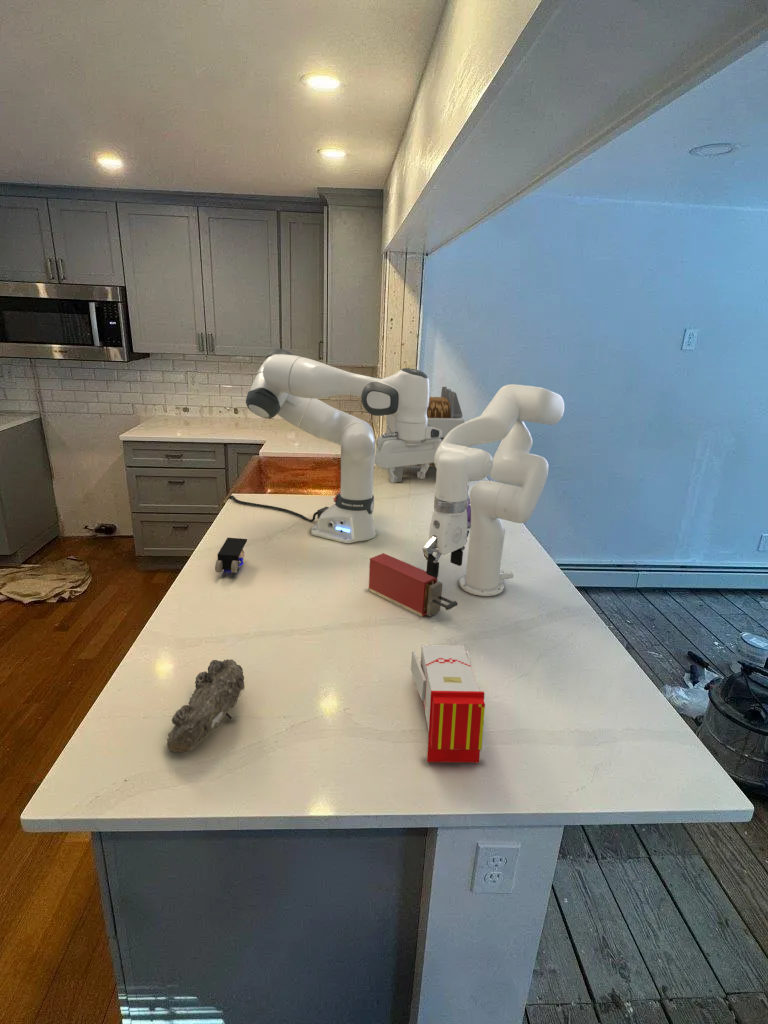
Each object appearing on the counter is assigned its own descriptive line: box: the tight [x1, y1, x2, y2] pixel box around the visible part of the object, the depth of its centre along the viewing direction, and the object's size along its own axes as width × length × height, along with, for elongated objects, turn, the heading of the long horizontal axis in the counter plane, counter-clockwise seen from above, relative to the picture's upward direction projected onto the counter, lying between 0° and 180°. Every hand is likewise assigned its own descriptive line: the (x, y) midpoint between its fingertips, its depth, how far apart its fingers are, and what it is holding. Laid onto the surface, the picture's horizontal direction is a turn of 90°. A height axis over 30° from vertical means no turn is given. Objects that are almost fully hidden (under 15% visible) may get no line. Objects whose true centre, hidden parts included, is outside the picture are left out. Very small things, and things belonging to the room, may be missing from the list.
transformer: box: [385, 386, 466, 483], centre depth 268 cm, size 34×33×41 cm
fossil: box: [166, 658, 245, 754], centre depth 106 cm, size 22×10×15 cm
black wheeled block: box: [214, 537, 248, 578], centre depth 166 cm, size 7×8×15 cm
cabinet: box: [368, 552, 439, 618], centre depth 153 cm, size 19×6×10 cm, turn 47°
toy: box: [410, 644, 486, 764], centre depth 111 cm, size 12×13×30 cm
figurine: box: [466, 484, 471, 528], centre depth 209 cm, size 9×10×15 cm
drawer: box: [424, 580, 458, 617], centre depth 150 cm, size 24×4×8 cm, turn 47°
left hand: (407, 480), depth 157 cm, fingers open, 8 cm apart
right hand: (444, 569), depth 141 cm, fingers open, 9 cm apart
